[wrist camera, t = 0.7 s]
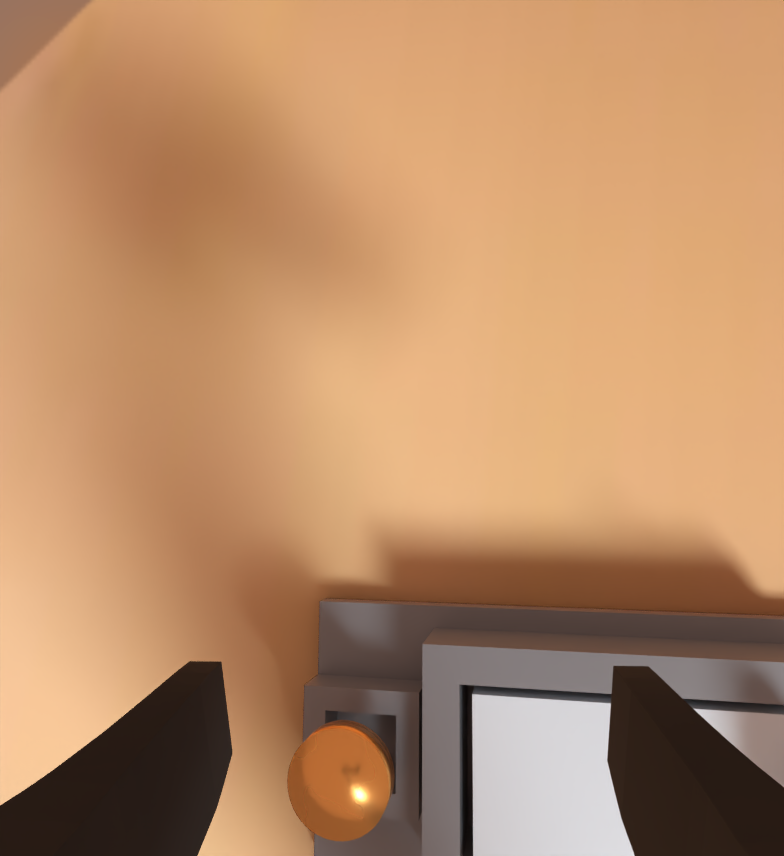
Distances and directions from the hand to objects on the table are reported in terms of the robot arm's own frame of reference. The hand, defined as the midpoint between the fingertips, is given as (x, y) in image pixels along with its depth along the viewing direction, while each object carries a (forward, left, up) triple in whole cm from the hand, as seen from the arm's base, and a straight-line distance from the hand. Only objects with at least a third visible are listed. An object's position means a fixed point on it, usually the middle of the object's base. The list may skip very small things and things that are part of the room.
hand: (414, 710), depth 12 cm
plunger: (-7, +5, -16) cm, 18 cm away
